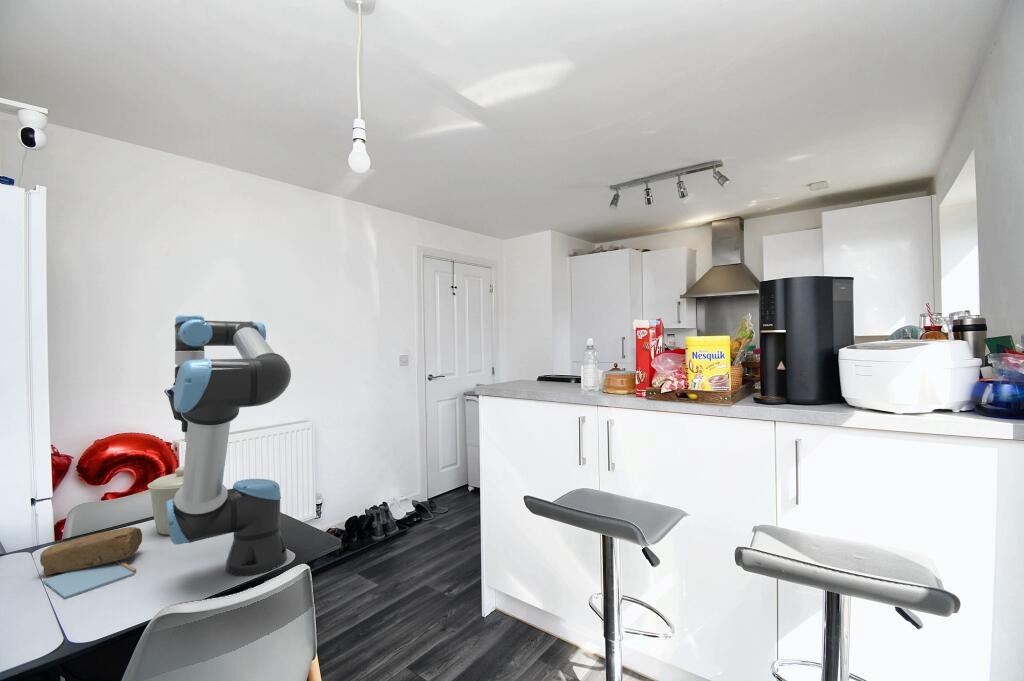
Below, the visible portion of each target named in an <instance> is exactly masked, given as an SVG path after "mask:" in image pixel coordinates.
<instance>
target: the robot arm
mask: <svg viewBox="0 0 1024 681" xmlns="http://www.w3.org/2000/svg"><path fill="white" fill-rule="evenodd" d="M174 319H175V323H174V340H175V341H174V342H175V343H174V344H175V347H174V348H175V349H174V364H175V365H176V366H175V367H174V381H173V384H172V386H171V387H169V388H167V389H165V390H164V394H165V395H166V396H167V398H168V401H169V405H170V409H171V411H172V415H173V418H174V420H176V421H180V422H181V432H182V433H184V443H185V455H184V466H183V467H184V475H183V487H181V488H180V489H179V490H178V491H177V493H176V495H175V497H174V498H172V499H171V500H168V501H167V503H166V506H167V516H168V522H169V531H170V535H169V536H170V541H171V542H172V544H173V545H183V544H184V545H185V544H192V543H195V542H198V541H203V540H206V539H207V540H208V539H210V538H215V537H220V536H224V535H229V534H232V533H233V540H232V543H231V546H230V549H229V551H228V556H227V557H226V562H225V570H226V572H227V573H228V574H230V575H233V576H252V575H258V574H262V573H265V571H266V572H268V571H267V570H269V571H271V570H273V569H272V568H274V567H276V568H278V567H279V566H281V565H282V564H284V563H285V562H286V560H287V557H288V555H287V554H288V551H287V550H288V549H287V547H286V544H285V542H284V538H283V536H282V533H281V499H282V498H281V497H282V496H281V488H280V487H281V486H280V484H279V482H276V481H275V480H272V479H265V478H247V479H246V478H245V479H241V480H237V481H235V482H234V483H233V486H232V488H228V489H227V486H225V485H224V484H223V483H224V475H225V467H226V458H227V452H228V450H227V449H228V443H229V435H230V429H231V422H233V421H234V420H235V419H236V418H237V417H238V415H239V413H240V408H247V407H249V408H251V407H258V406H263V405H267V404H270V403H271V402H274V400H276V399H277V398H279V397H280V396H282V394H283V393H284V392H285V391H286V390H287V388H288V387H289V384H290V382H291V378H292V371H291V369H292V368H291V366H290V364H289V363H288V361H287V360H286V359H285V358H284V357H283V356H282V355H281V354H279V353H276V352H275V351H274V350H273V349H272V347H271V346H270V345H269V343H268V342H267V341H266V340H267V339H266V338H267V330H266V325H265V324H264V323H262V322H259V321H238V320H237V321H230V320H228V321H226V320H205V317H204V316H202V315H197V314H196V315H195V314H182V315H181V314H179V315H178V314H177V315H176V316H175V318H174ZM205 347H235V348H236V350H237V351H238V353H239V355H240V356H241V358H218V359H217V358H215V359H210V358H206V357H205V355H206V354H205ZM284 561H285V562H284ZM283 562H284V563H283ZM278 565H279V566H278ZM277 566H278V567H277ZM270 569H271V570H270ZM274 569H275V568H274ZM261 572H262V573H261Z"/></svg>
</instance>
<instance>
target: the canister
mask: <svg viewBox="0 0 1024 681" xmlns="http://www.w3.org/2000/svg"><path fill="white" fill-rule="evenodd" d="M183 475H184V466H179V467H177V468H175V471H174V473H171V474H167V475H162V476H160V477H158V478H156V479H154V480H153V481H152V482H149V483H148V484H147V488H148V489H150V491H149V492H150V498H151V505H152V512H153V513H152V514H153V518H154V519H153V520H154V526H155V529H156V531H157V532H158V533H159V534H161V535H166V536H170V531H169V522H168V516H167V506H166V503H167V501H168V500H171V499H172V498H174V497H175V495H176V493H177V491H178V490H179V489H180V488H181V487H183Z"/></svg>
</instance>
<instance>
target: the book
mask: <svg viewBox="0 0 1024 681" xmlns="http://www.w3.org/2000/svg"><path fill="white" fill-rule="evenodd" d="M135 574H137V569H136V568H134V567H133V566H131V565H129V564H128V563H126V562H124V561H122V559H121V560H118V561H114V562H110V563H106V564H101V565H97V566H93V567H88V568H84V569H79V570H73V571H69V572H63V573H60V574H57V575H55V576H52V577H49V578H45V579H43V580H42V583H43V582H44V583H46V584H47V585H48V586H49V587H48V586H47V585H46V584H45V585H46V586H47V587H48V588H49V589H51V588H52V589H53V590H54V591H53V590H52V589H51V590H52V591H53V592H55V593H56V594H57V593H58V594H59V595H58V594H57V595H58V596H59V597H61V598H62V599H63V600H66V599H69V597H70V598H72V596H73V597H75V596H78V595H81V594H83V593H84V594H85V593H87V592H89V591H90V592H91V591H92V590H95V588H96V589H98V588H100V587H104V586H107V585H110V584H113V583H116V582H119V581H121V580H124V579H126V578H129V577H133V576H135ZM44 583H43V584H44Z"/></svg>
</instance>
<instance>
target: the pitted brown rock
mask: <svg viewBox="0 0 1024 681" xmlns="http://www.w3.org/2000/svg"><path fill="white" fill-rule="evenodd" d="M142 542H143V533H142V529H141V528H140V527H135V526H129V527H121V528H116V529H111V530H108V531H102V532H96V533H93V534H89V535H86V536H80V537H77V538H73V539H70V540H67V541H63V542H60V543H59V542H58V543H55V544H53V545H51V546H49V547H47V548H46V549H44V550H42V552H41V553H40V556H39V558H40V559H39V560H40V561H39V562H40V566H41V567H43V574H44V575H49V576H50V575H53V574H58V573H60V574H64V573H67V572H71V571H74V570H79V569H84V568H88V567H93V566H97V565H101V564H106V563H110V562H114V561H118V560H121V561H122V560H124V559H128V558H130V557H132V556H134V555H135V553H137V551H138V550H139V548H140V546H141V544H142Z"/></svg>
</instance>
